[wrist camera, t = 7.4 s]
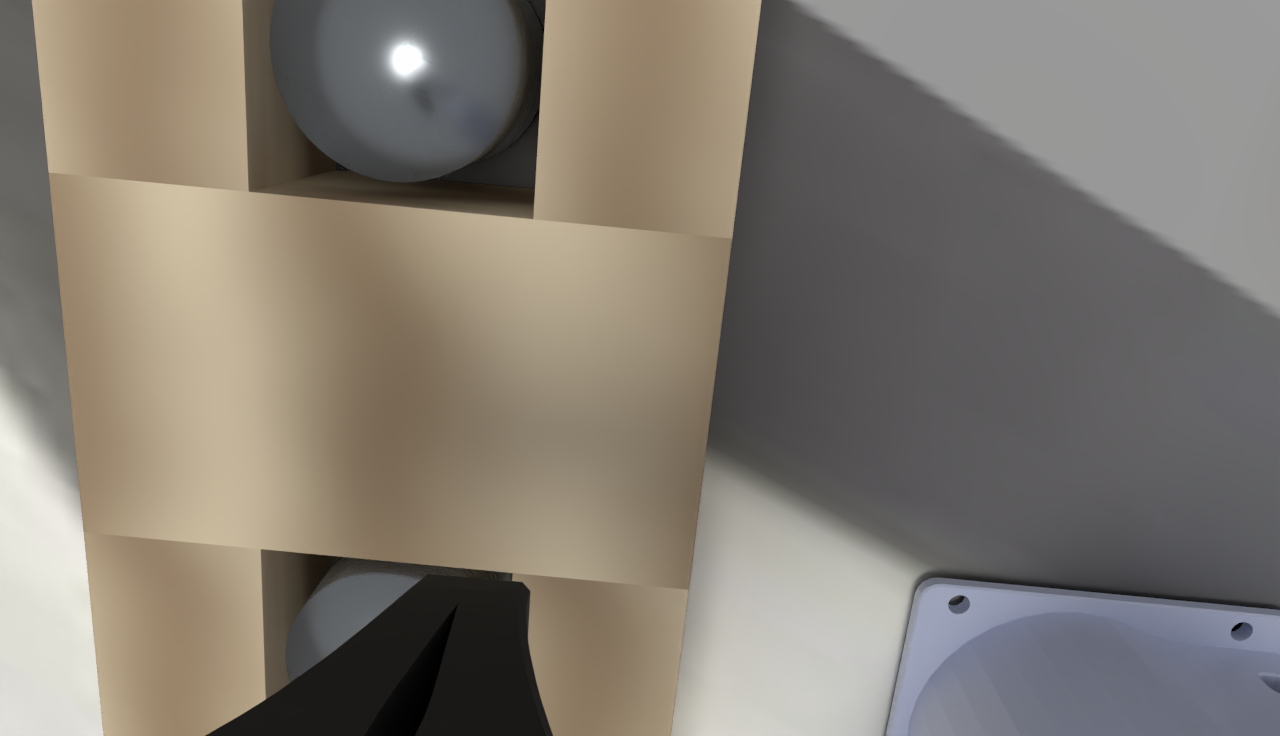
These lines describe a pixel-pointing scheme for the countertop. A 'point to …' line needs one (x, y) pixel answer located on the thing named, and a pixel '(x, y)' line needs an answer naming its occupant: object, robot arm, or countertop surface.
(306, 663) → the peg
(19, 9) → the countertop surface
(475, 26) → the peg
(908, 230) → the countertop surface
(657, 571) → the socket block
